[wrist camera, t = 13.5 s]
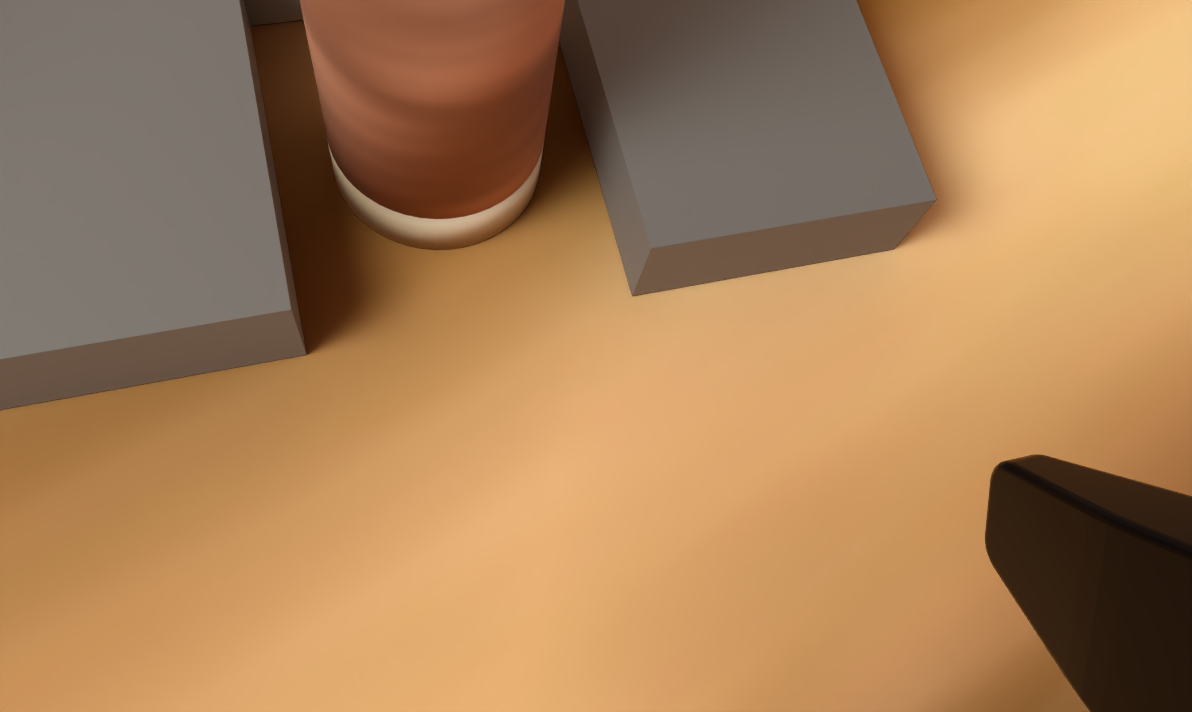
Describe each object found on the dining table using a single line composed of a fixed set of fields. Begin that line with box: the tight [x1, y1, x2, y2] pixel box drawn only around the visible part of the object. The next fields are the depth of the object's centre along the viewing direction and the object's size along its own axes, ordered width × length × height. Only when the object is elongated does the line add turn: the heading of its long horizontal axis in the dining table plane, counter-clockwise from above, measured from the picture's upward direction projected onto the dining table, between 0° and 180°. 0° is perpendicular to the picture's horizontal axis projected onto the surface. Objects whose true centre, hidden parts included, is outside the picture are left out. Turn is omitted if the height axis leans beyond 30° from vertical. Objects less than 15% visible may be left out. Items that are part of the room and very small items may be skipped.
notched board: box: [0, 0, 937, 410], centre depth 25 cm, size 15×21×2 cm
